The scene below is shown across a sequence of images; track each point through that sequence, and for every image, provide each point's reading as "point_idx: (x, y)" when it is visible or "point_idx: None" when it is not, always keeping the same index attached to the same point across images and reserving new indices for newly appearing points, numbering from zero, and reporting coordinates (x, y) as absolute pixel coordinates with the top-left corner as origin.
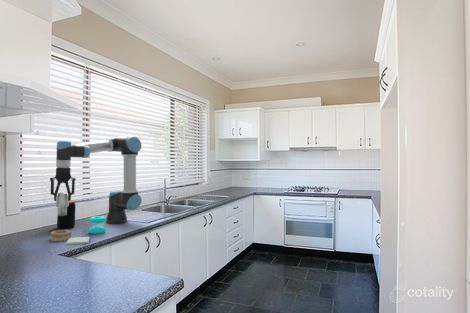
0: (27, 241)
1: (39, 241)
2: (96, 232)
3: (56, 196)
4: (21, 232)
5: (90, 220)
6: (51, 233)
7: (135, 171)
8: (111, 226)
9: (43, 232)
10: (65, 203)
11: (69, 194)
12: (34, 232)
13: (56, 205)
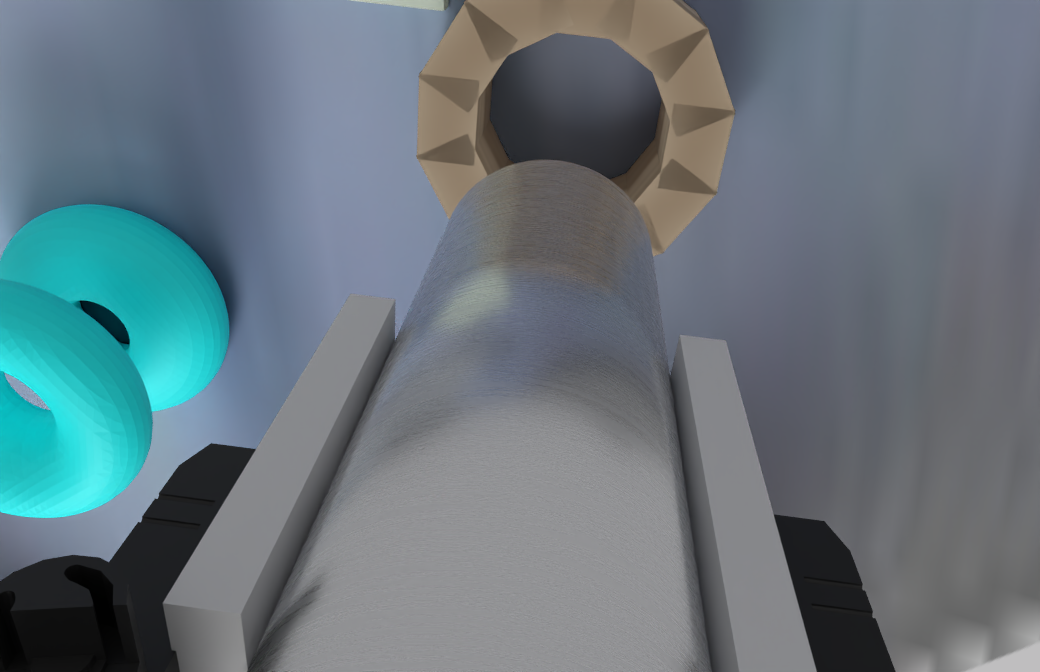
0: (1033, 96)
1: (872, 34)
2: (102, 206)
3: (798, 660)
4: (1021, 583)
5: (105, 350)
6: (720, 68)
7: None
8: (38, 530)
9: (785, 508)
10: (398, 354)
11: (39, 656)
12: (884, 539)
13: (714, 369)
